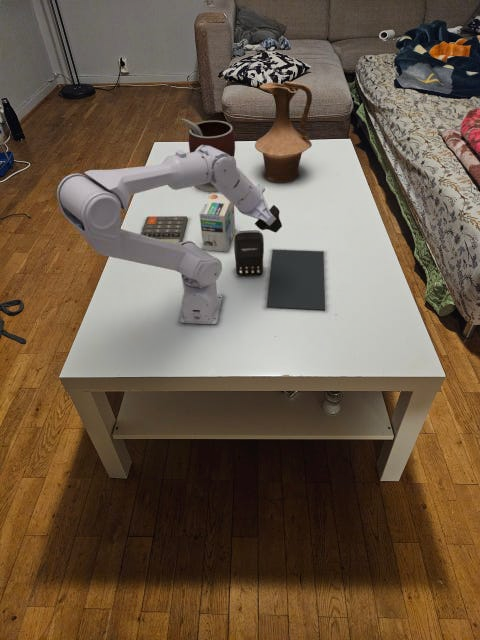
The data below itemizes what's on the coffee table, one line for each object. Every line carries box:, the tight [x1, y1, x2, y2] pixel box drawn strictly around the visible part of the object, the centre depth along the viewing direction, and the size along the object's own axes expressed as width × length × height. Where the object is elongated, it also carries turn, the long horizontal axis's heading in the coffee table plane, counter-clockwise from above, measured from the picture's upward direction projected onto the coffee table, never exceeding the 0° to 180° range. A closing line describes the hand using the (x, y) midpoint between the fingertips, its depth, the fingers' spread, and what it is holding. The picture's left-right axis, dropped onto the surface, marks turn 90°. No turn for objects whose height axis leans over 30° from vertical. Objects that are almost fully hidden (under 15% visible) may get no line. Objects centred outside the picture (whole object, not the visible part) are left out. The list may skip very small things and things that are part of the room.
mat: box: [266, 249, 326, 312], centre depth 110 cm, size 22×13×1 cm, turn 174°
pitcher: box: [254, 80, 313, 183], centre depth 138 cm, size 18×17×28 cm
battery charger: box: [233, 229, 265, 277], centre depth 108 cm, size 7×4×11 cm, turn 91°
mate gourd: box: [180, 118, 236, 193], centre depth 139 cm, size 16×14×20 cm
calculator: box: [140, 215, 188, 243], centre depth 125 cm, size 12×1×15 cm
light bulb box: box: [199, 193, 236, 252], centre depth 119 cm, size 11×7×11 cm, turn 168°
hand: (268, 219), depth 103 cm, fingers open, 7 cm apart
